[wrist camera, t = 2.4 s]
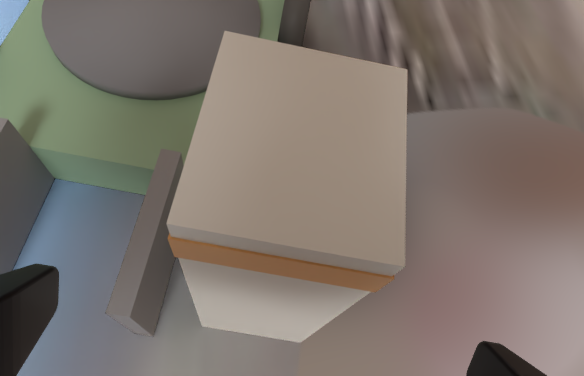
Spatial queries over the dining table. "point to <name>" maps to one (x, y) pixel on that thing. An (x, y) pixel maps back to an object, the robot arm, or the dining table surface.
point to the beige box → (291, 188)
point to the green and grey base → (115, 115)
